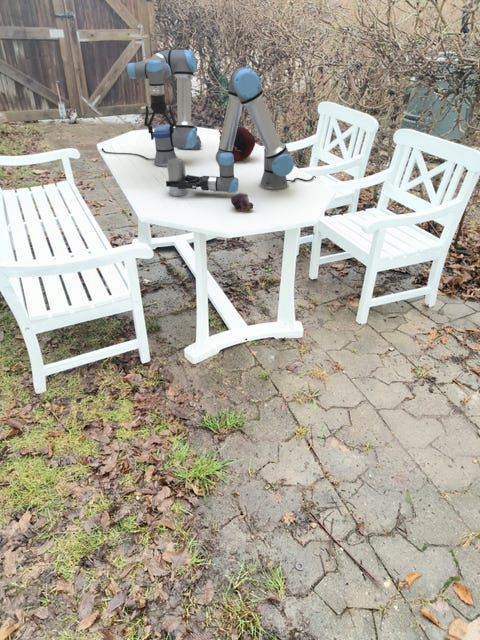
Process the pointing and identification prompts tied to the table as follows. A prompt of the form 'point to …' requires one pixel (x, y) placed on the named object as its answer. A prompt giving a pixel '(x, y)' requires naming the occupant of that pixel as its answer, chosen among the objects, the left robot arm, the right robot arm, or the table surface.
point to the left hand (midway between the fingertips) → (161, 139)
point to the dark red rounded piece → (242, 144)
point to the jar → (176, 175)
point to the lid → (161, 134)
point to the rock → (241, 202)
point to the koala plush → (198, 142)
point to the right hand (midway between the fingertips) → (169, 180)
